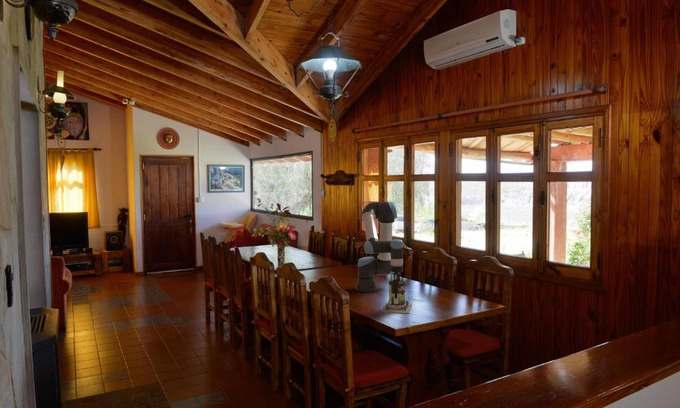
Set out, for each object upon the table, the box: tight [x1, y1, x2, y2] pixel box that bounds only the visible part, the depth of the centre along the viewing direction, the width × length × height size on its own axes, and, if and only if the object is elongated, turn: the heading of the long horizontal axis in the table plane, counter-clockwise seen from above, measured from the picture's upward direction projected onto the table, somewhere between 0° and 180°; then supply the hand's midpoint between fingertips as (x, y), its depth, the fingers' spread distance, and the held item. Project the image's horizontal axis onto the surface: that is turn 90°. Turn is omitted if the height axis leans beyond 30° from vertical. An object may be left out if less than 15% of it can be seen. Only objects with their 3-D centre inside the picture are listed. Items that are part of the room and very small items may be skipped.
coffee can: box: [388, 279, 407, 307], centre depth 304 cm, size 10×10×14 cm
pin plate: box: [381, 299, 413, 314], centre depth 304 cm, size 16×16×4 cm
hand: (397, 301), depth 304 cm, fingers closed on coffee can, 10 cm apart
